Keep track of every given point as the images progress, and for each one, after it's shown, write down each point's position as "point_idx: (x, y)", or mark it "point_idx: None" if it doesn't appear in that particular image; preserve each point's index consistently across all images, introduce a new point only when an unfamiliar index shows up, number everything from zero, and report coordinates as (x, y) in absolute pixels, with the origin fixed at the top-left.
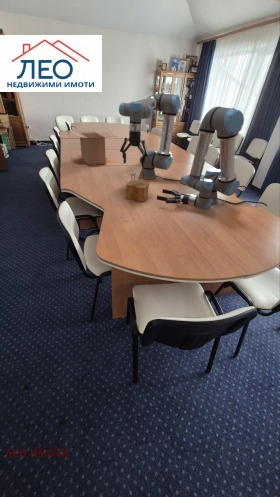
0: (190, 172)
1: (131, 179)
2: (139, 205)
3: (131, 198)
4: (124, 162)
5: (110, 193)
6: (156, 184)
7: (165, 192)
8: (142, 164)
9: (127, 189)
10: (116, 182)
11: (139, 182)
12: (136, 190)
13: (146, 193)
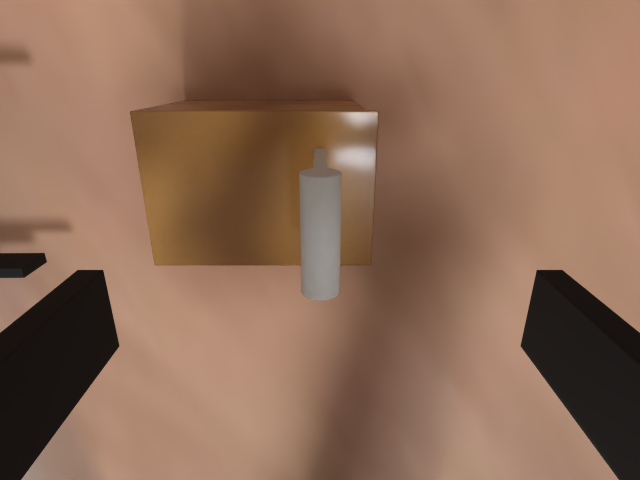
0: None
1: (322, 160)
2: (177, 4)
3: (302, 100)
4: (549, 282)
5: (531, 126)
6: (248, 462)
7: (5, 256)
8: (53, 295)
9: (352, 107)
10: None
11: (266, 259)
12: (240, 107)
13: None
